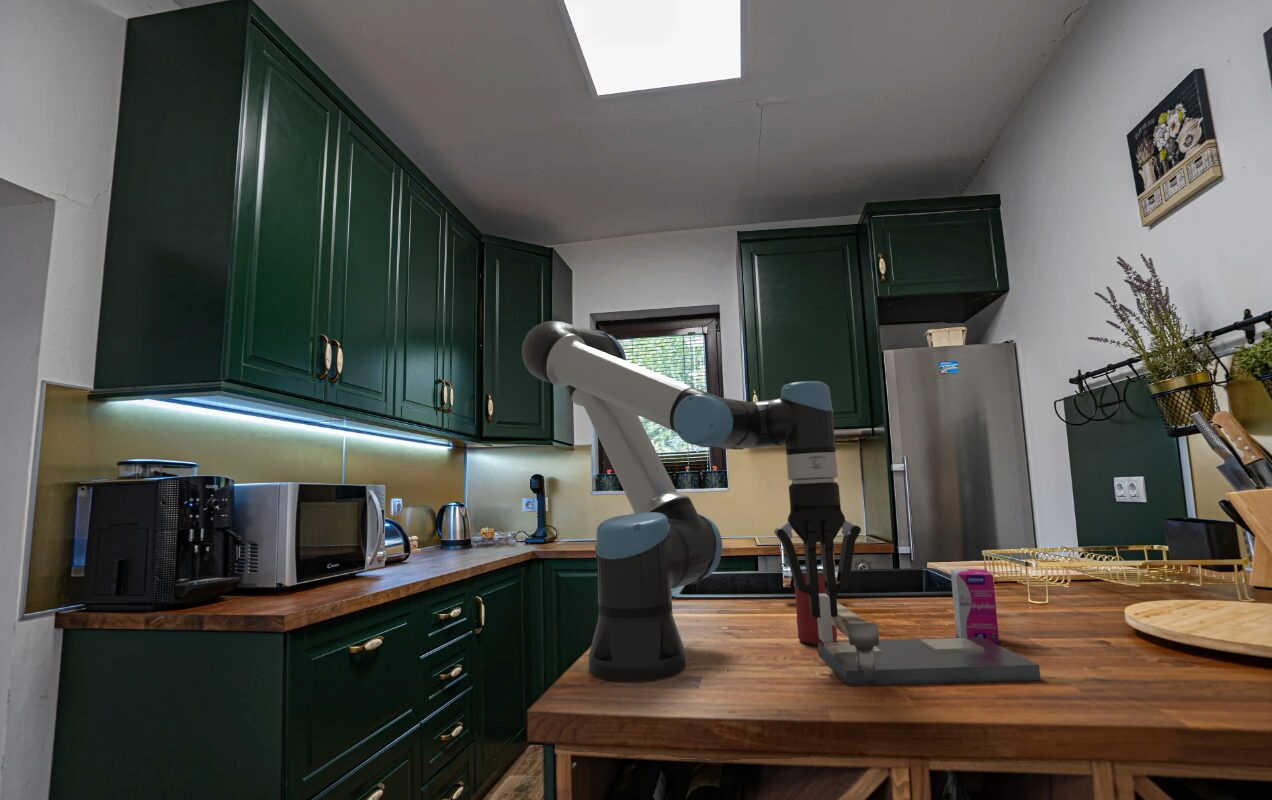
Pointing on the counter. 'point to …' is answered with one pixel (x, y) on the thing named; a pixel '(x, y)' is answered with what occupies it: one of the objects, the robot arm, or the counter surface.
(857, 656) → the post
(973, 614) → the supplement box
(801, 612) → the beer can
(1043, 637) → the counter surface
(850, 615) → the rail
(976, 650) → the board
